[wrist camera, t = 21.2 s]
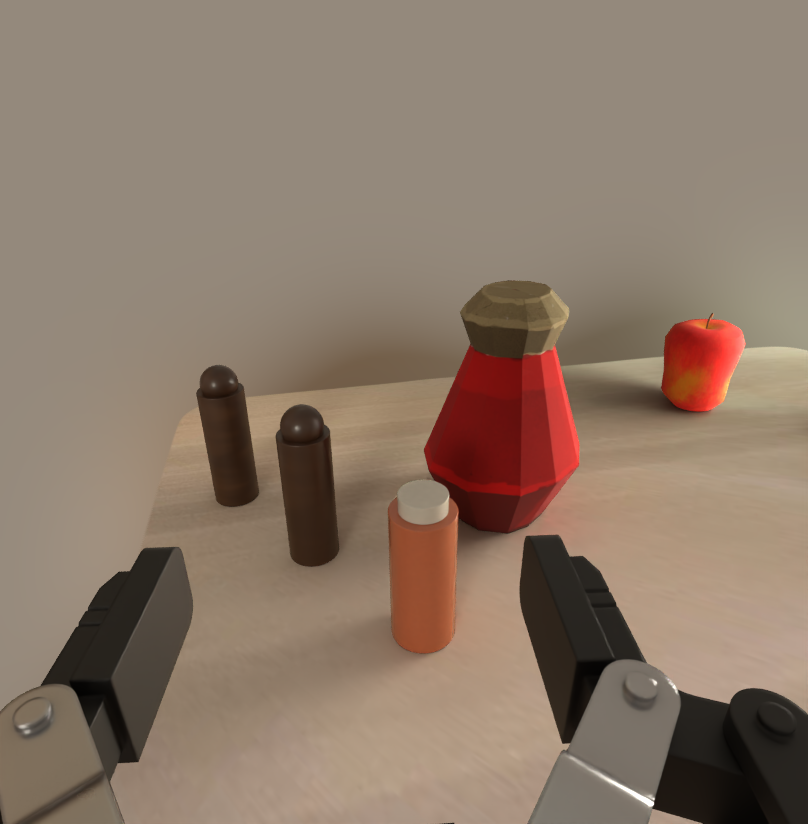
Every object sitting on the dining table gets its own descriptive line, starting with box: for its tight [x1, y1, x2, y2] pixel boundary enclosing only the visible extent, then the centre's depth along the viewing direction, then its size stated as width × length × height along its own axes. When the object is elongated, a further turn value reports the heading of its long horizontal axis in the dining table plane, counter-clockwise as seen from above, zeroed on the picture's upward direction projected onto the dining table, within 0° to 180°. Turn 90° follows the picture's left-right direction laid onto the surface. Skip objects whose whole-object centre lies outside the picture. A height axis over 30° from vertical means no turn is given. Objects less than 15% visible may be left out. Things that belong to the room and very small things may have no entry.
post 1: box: [196, 365, 259, 506], centre depth 52 cm, size 4×4×13 cm
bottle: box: [424, 281, 579, 533], centre depth 49 cm, size 16×14×20 cm
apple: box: [661, 313, 745, 412], centre depth 69 cm, size 9×8×12 cm
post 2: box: [276, 404, 339, 566], centre depth 45 cm, size 4×4×13 cm
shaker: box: [388, 480, 459, 653], centre depth 37 cm, size 4×4×11 cm
